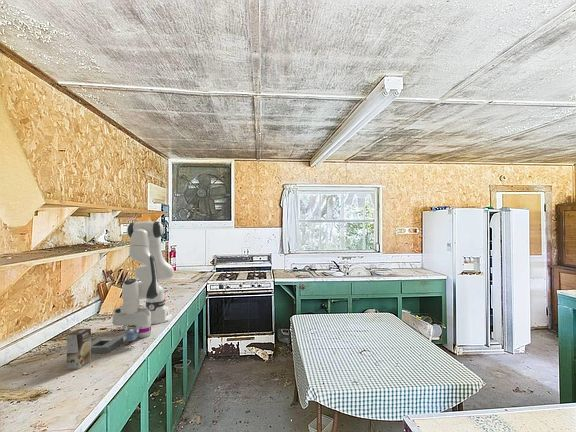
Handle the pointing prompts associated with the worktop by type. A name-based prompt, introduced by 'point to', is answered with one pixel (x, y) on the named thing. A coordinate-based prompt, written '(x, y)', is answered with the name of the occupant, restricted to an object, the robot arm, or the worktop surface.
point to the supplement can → (145, 329)
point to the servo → (131, 334)
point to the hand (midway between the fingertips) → (131, 332)
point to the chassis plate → (105, 344)
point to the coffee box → (78, 348)
